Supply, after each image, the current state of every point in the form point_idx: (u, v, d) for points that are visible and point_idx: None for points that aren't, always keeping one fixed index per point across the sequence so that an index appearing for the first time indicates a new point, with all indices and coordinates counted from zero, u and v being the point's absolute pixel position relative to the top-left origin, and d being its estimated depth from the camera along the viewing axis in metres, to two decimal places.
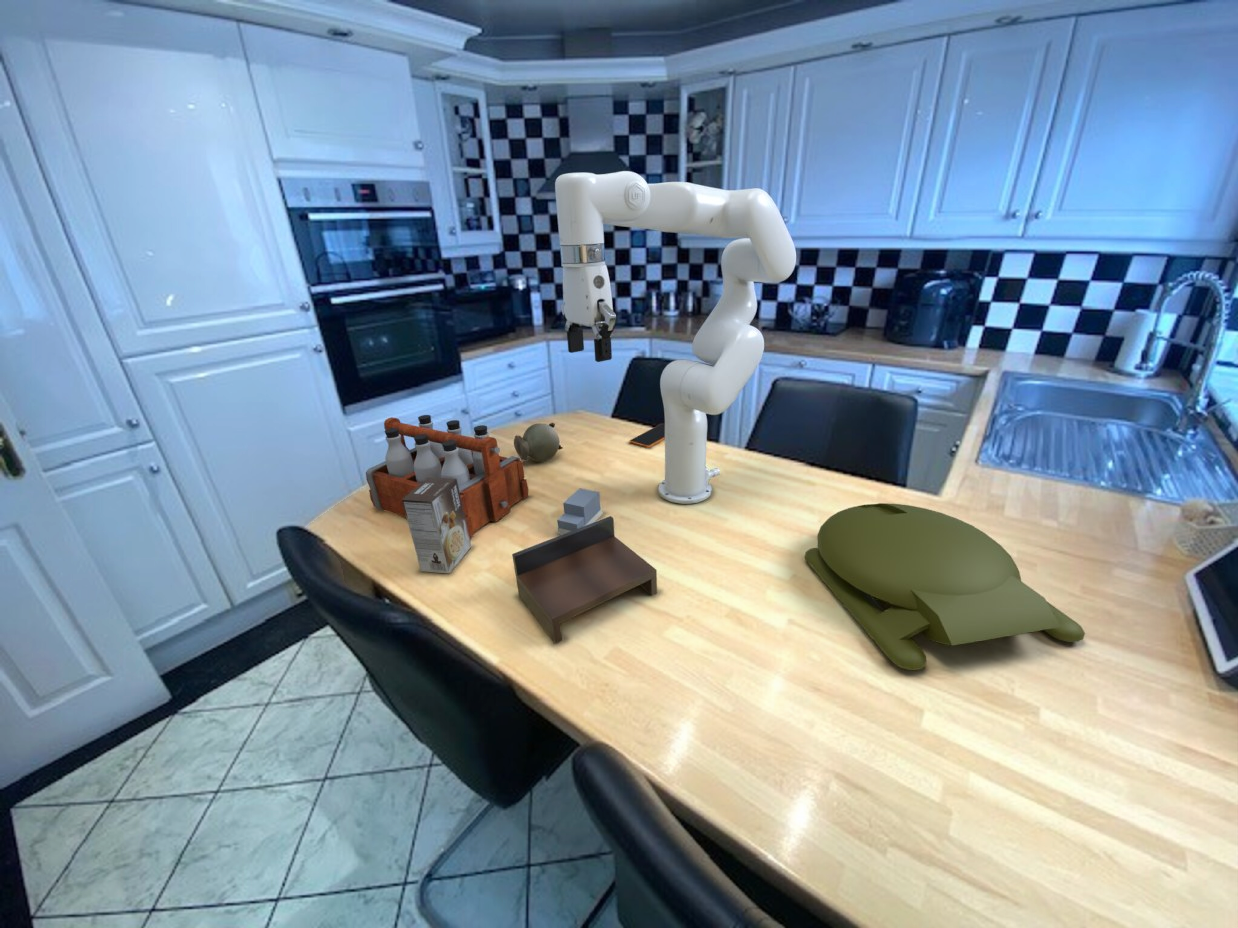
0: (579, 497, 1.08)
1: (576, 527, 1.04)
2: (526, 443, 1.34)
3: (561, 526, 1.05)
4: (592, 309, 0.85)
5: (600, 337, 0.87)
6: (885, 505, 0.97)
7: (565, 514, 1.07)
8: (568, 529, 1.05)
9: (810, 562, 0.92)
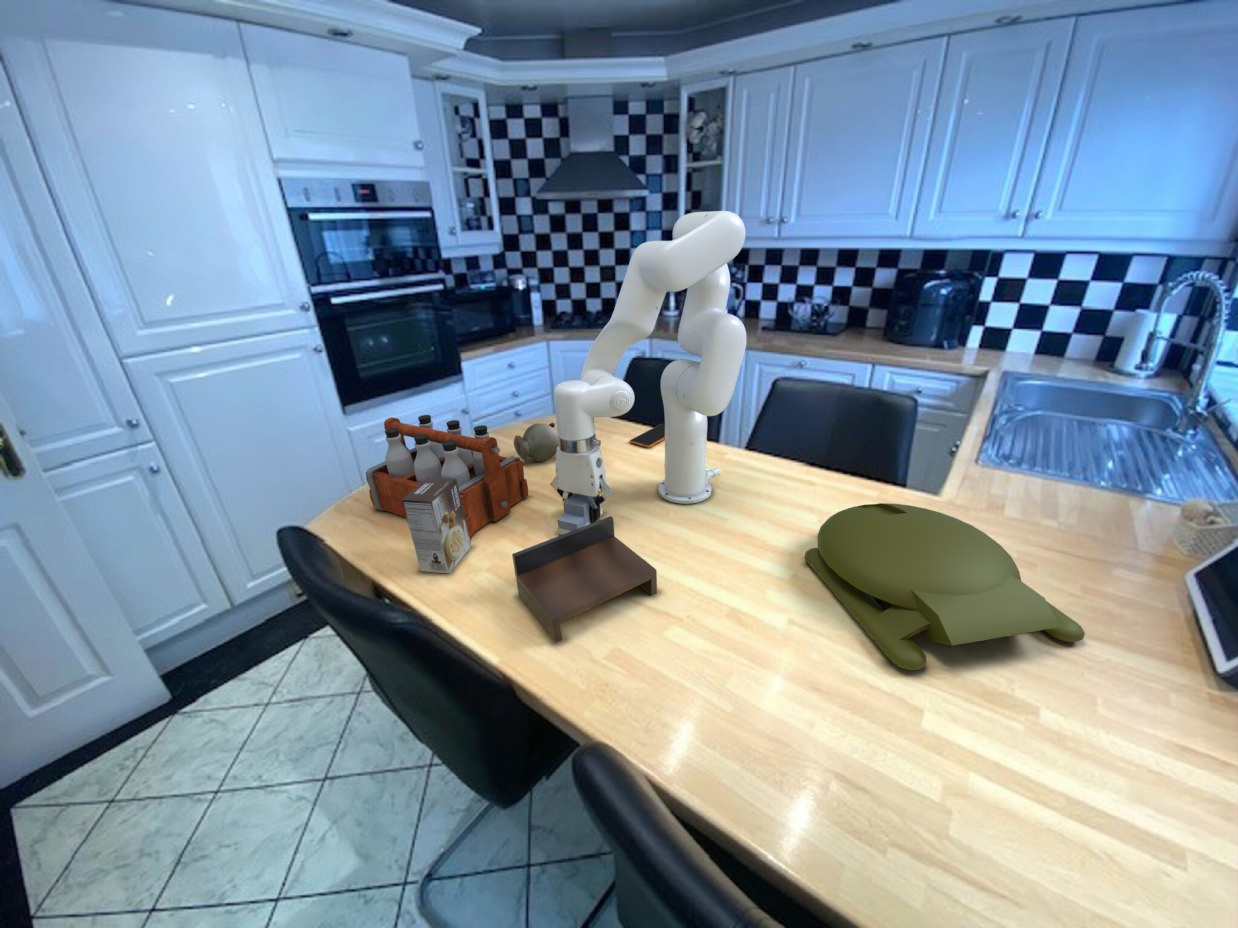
0: (579, 497, 1.08)
1: (576, 527, 1.04)
2: (526, 443, 1.34)
3: (561, 526, 1.05)
4: (596, 484, 1.03)
5: (596, 507, 1.06)
6: (885, 505, 0.97)
7: (565, 514, 1.07)
8: (568, 529, 1.05)
9: (810, 562, 0.92)
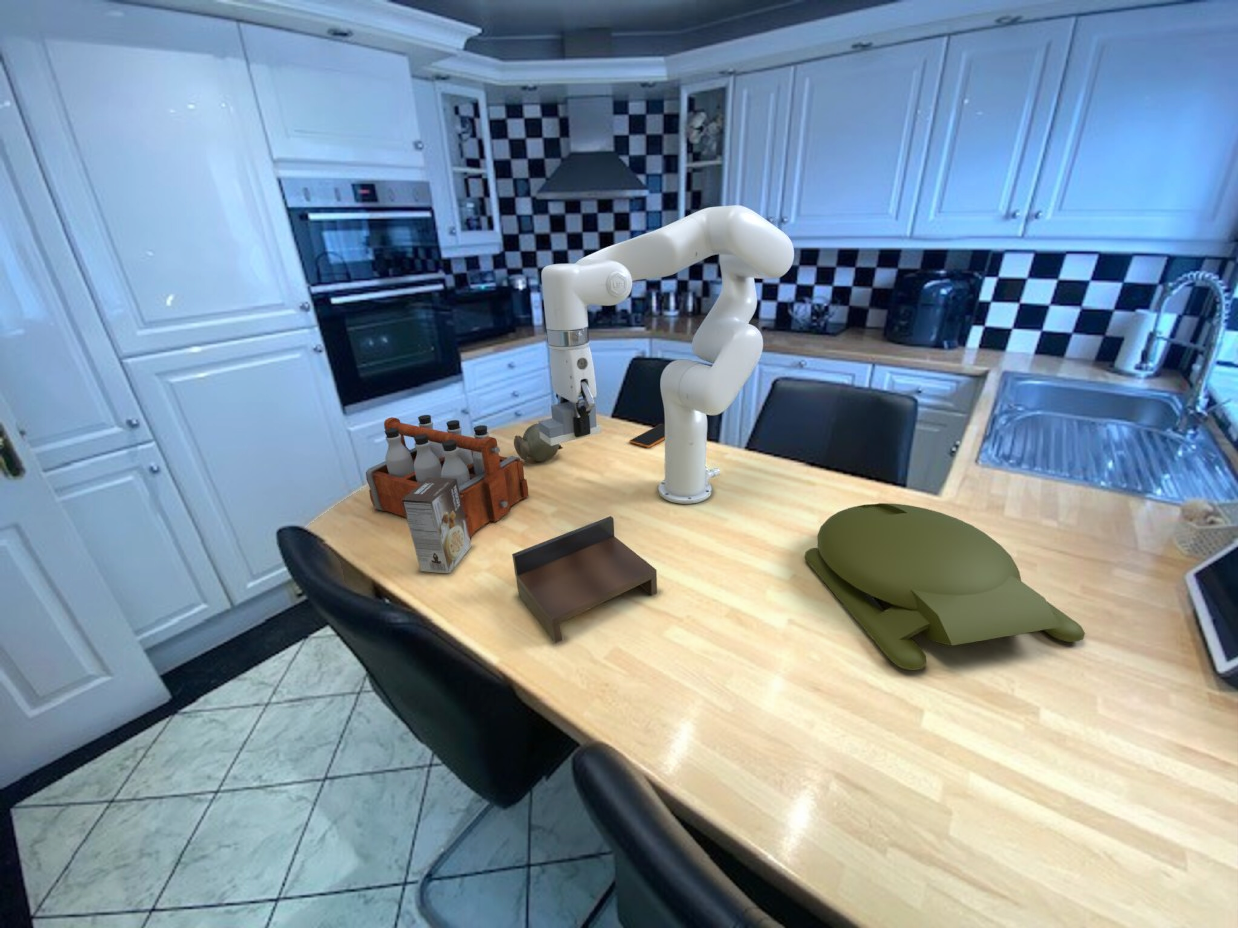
0: (570, 405, 0.97)
1: (549, 432, 0.93)
2: (526, 443, 1.34)
3: (540, 429, 0.96)
4: (576, 388, 0.90)
5: (578, 416, 0.93)
6: (885, 505, 0.97)
7: (551, 419, 0.97)
8: (544, 433, 0.95)
9: (810, 562, 0.92)
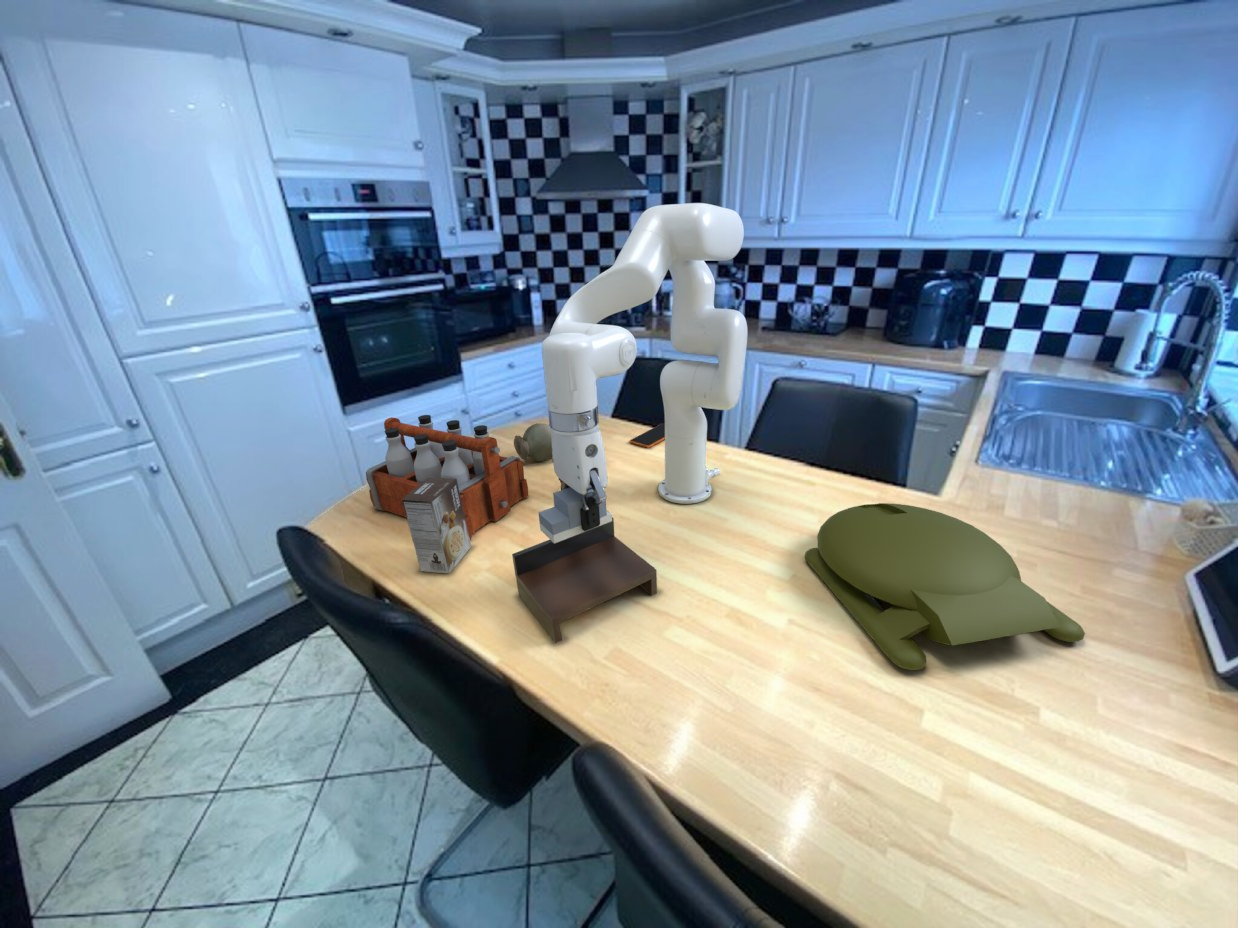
0: (575, 492, 0.82)
1: (551, 528, 0.79)
2: (526, 443, 1.34)
3: (541, 521, 0.82)
4: (584, 479, 0.76)
5: (587, 509, 0.79)
6: (885, 505, 0.97)
7: (553, 508, 0.83)
8: (546, 528, 0.80)
9: (810, 562, 0.92)
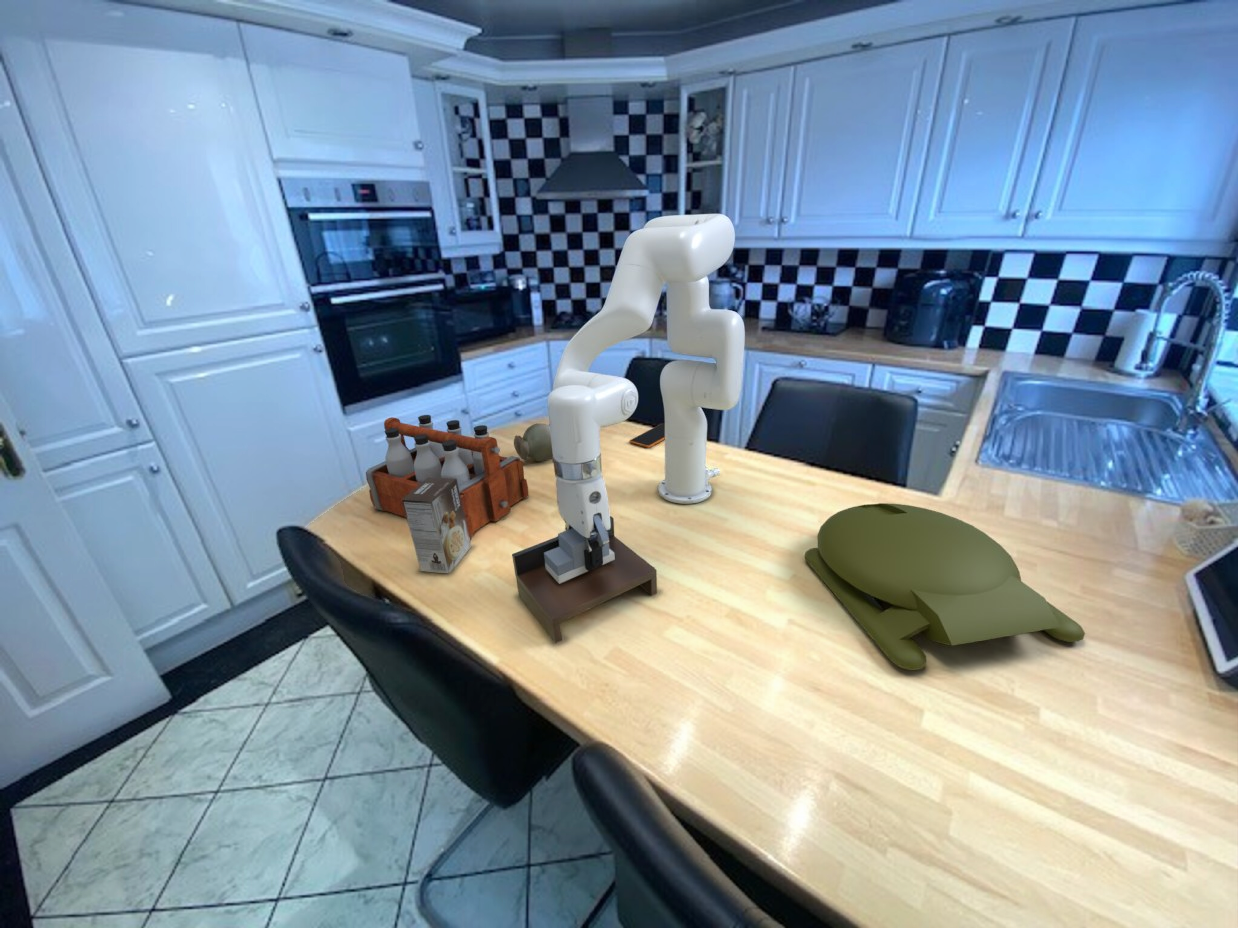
0: (579, 533, 0.86)
1: (557, 569, 0.82)
2: (526, 443, 1.34)
3: (547, 562, 0.85)
4: (588, 524, 0.79)
5: (590, 551, 0.82)
6: (885, 505, 0.97)
7: (558, 548, 0.86)
8: (551, 568, 0.84)
9: (810, 562, 0.92)
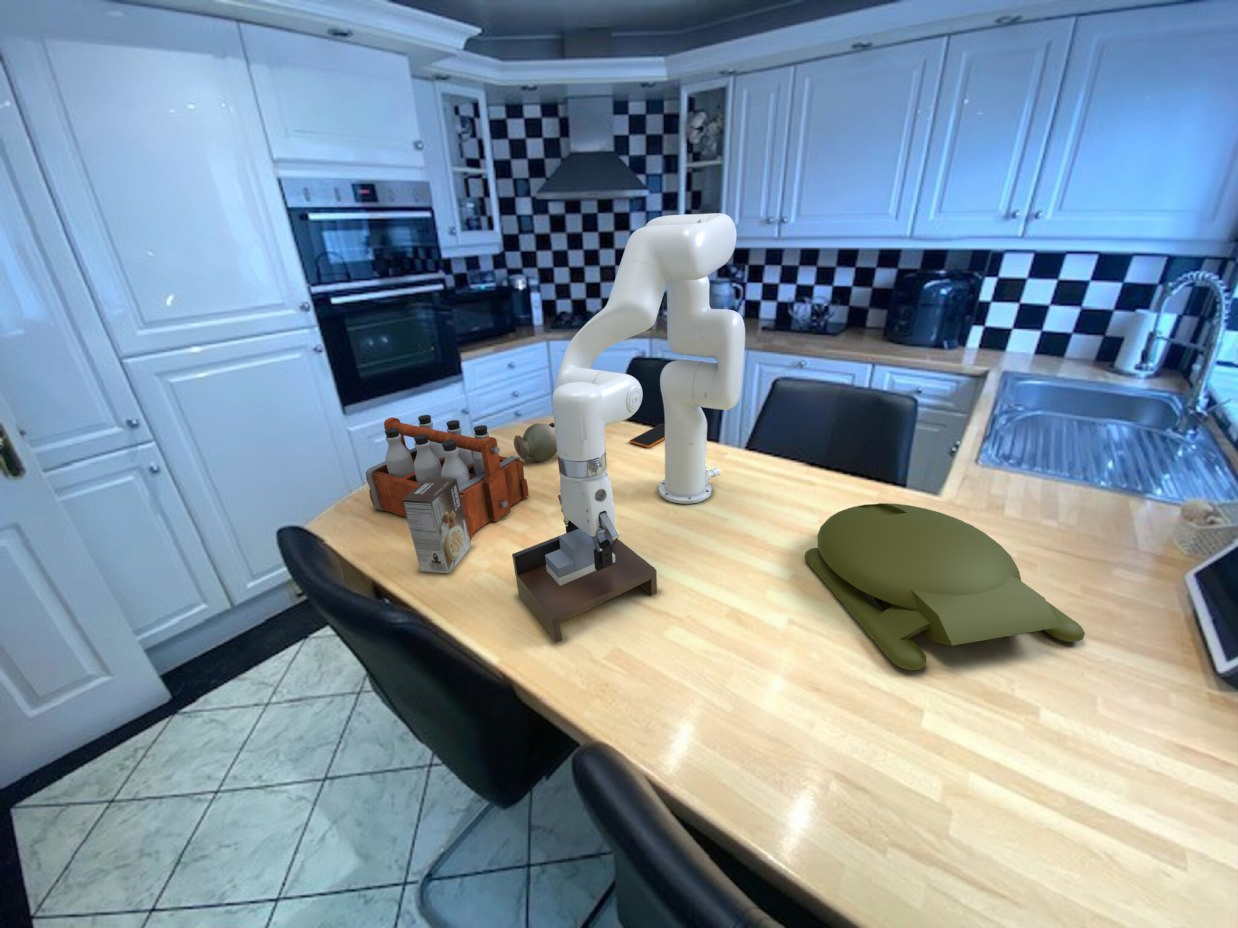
0: (580, 535, 0.86)
1: (557, 571, 0.82)
2: (526, 443, 1.34)
3: (548, 564, 0.86)
4: (593, 523, 0.78)
5: (600, 550, 0.80)
6: (885, 505, 0.97)
7: (559, 550, 0.87)
8: (552, 570, 0.84)
9: (810, 562, 0.92)
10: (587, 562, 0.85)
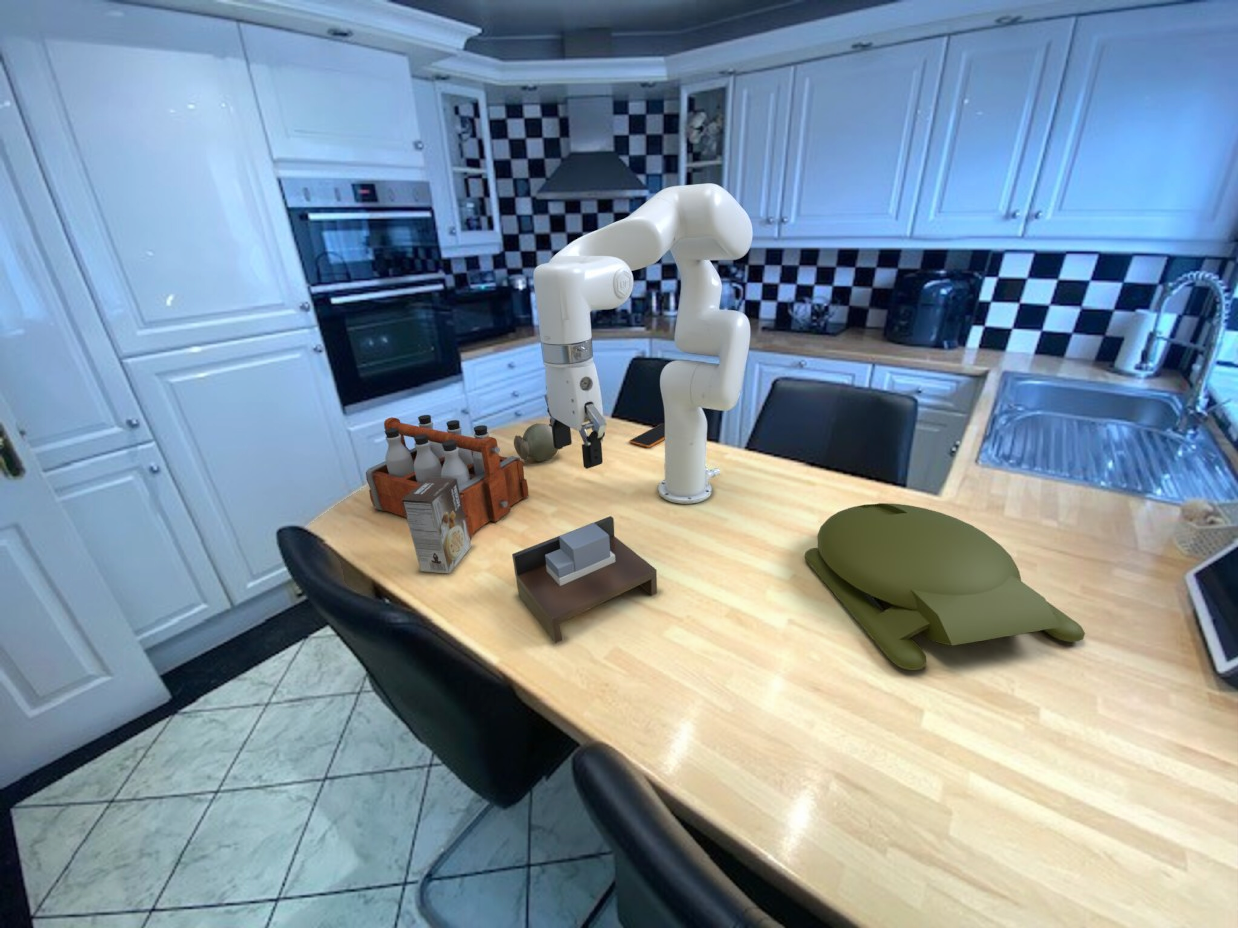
0: (580, 535, 0.86)
1: (557, 571, 0.82)
2: (526, 443, 1.34)
3: (548, 564, 0.86)
4: (579, 414, 0.74)
5: (589, 444, 0.76)
6: (885, 505, 0.97)
7: (559, 550, 0.87)
8: (552, 570, 0.84)
9: (810, 562, 0.92)
10: (587, 562, 0.85)
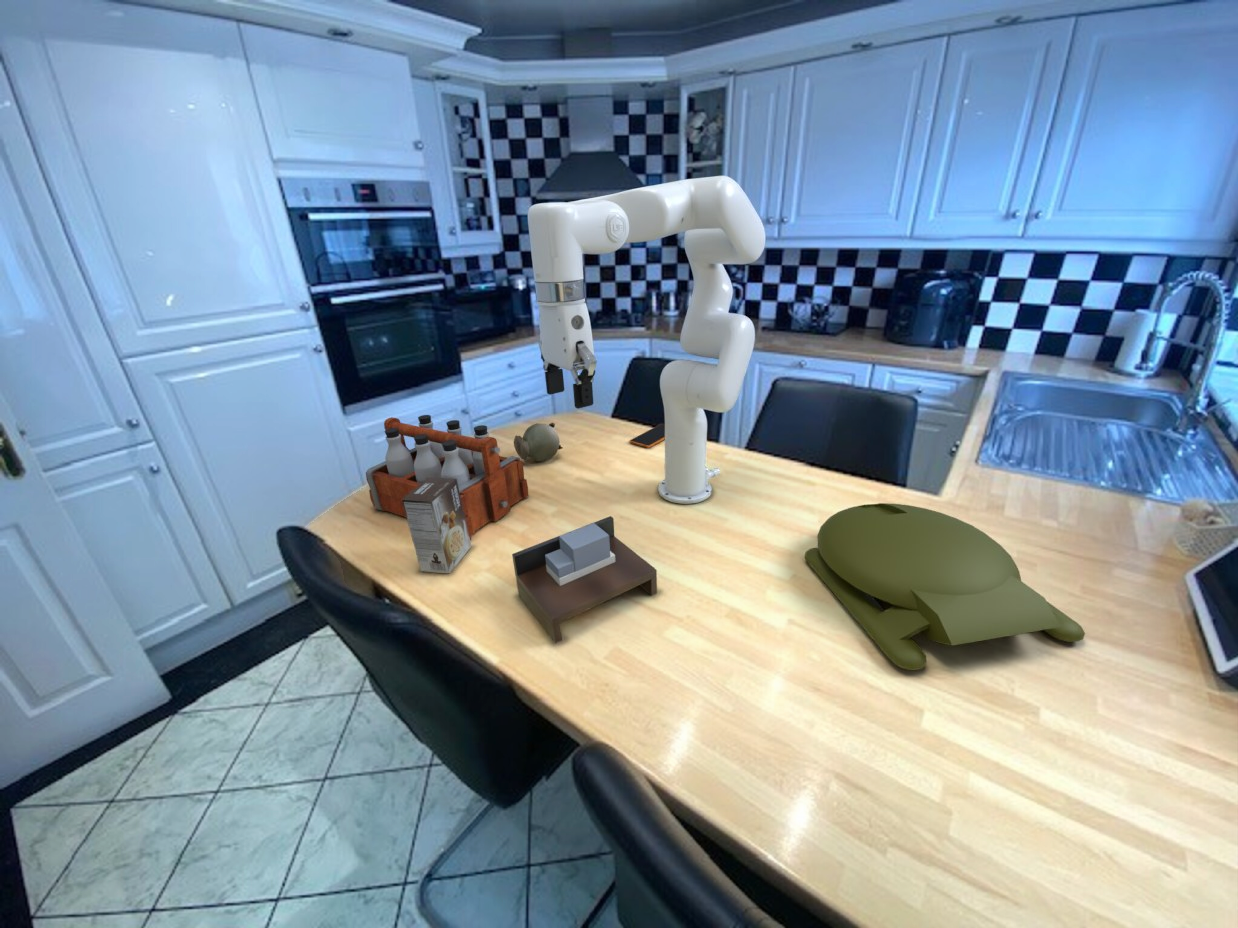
0: (580, 535, 0.86)
1: (557, 571, 0.82)
2: (526, 443, 1.34)
3: (548, 564, 0.86)
4: (570, 352, 0.77)
5: (579, 382, 0.78)
6: (885, 505, 0.97)
7: (559, 550, 0.87)
8: (552, 570, 0.84)
9: (810, 562, 0.92)
10: (587, 562, 0.85)
